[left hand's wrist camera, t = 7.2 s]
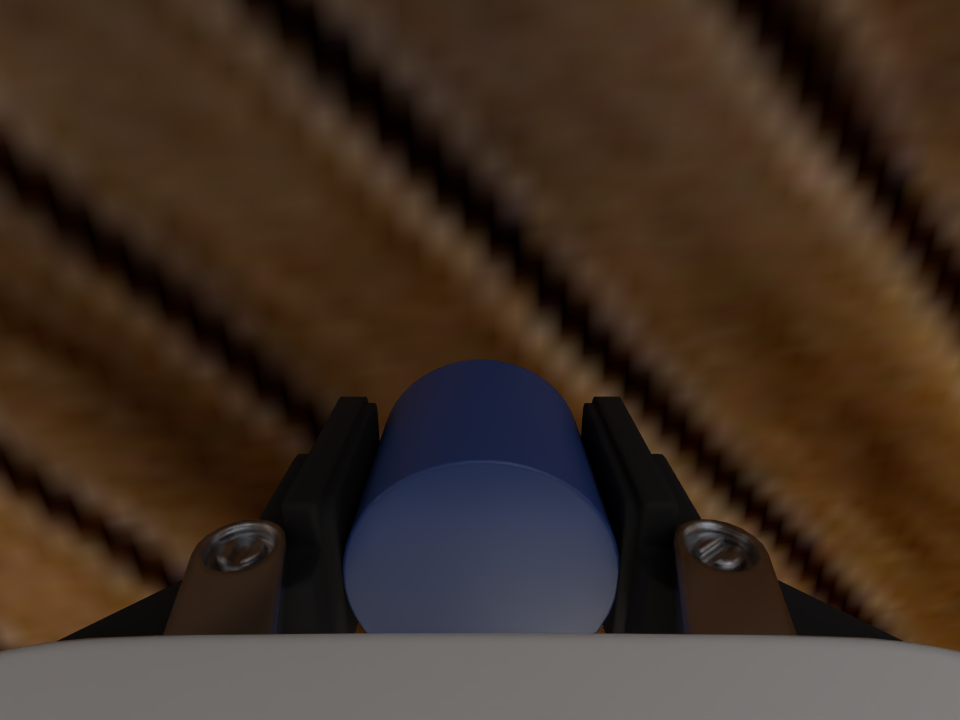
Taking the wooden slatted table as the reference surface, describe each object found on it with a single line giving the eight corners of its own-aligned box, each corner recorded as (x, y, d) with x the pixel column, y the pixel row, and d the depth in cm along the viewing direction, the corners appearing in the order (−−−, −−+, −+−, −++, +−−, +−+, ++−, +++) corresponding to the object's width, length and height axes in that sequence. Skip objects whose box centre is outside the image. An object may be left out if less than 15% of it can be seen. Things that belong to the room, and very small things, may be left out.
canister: (590, 363, 12) (642, 467, 8) (567, 534, 13) (601, 686, 10) (381, 353, 12) (335, 453, 8) (383, 526, 13) (346, 678, 10)
